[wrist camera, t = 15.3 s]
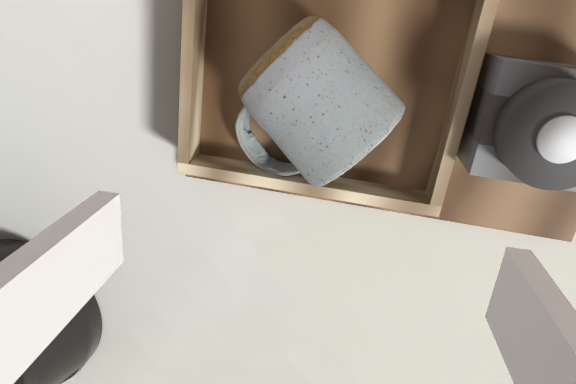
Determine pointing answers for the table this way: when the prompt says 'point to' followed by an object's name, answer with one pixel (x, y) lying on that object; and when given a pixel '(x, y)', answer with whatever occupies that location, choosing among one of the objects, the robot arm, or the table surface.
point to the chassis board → (411, 91)
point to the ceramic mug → (315, 104)
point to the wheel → (540, 134)
